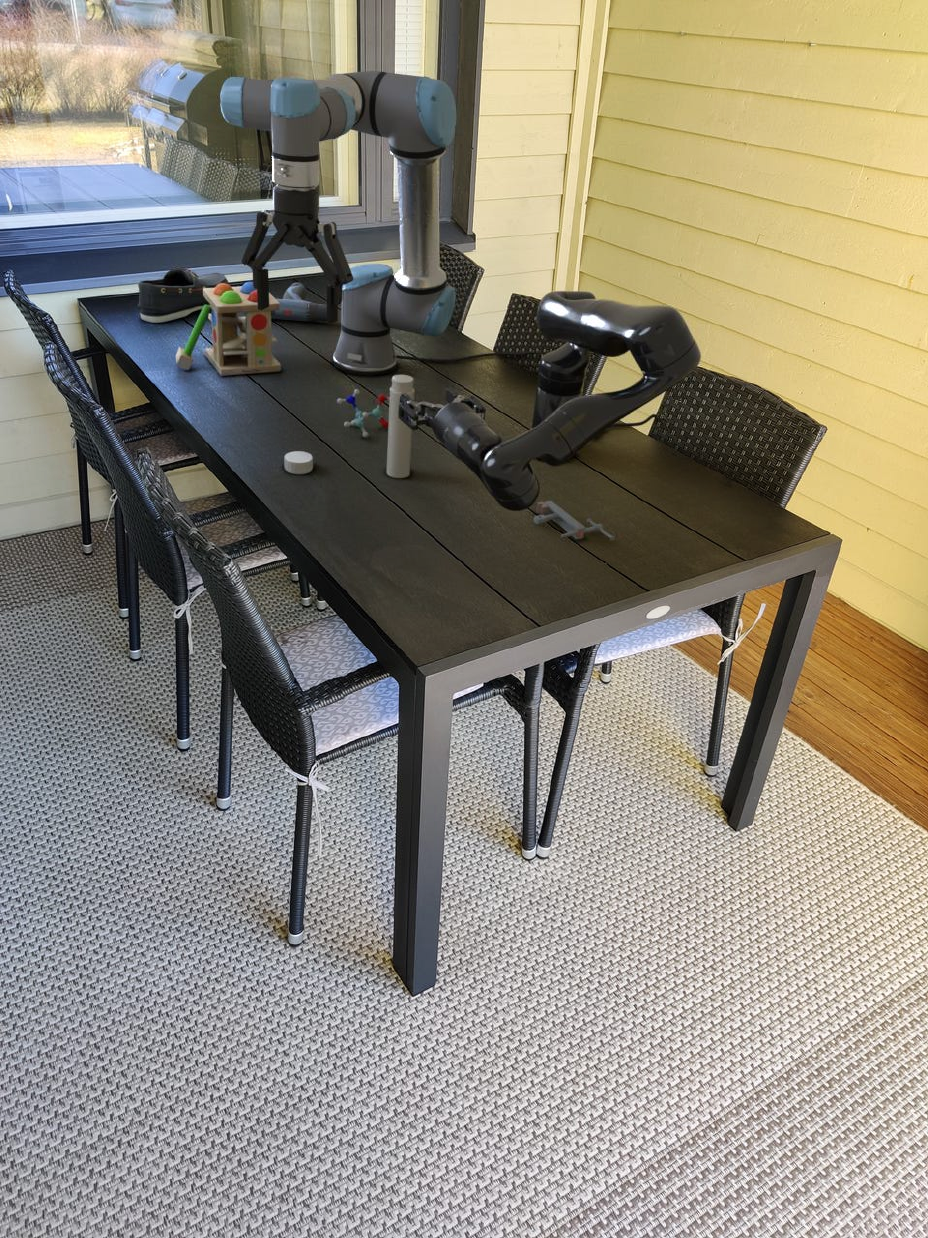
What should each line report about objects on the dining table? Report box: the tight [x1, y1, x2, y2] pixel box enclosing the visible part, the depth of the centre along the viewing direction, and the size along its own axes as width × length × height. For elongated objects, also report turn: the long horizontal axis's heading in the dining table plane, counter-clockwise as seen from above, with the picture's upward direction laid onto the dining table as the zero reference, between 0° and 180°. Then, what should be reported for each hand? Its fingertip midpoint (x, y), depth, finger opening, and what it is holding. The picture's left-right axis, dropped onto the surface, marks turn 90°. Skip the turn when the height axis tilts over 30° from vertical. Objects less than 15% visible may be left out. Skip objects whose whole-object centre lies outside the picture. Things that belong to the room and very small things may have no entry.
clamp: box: [533, 500, 616, 542], centre depth 177 cm, size 15×2×10 cm
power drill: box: [271, 282, 327, 322], centre depth 265 cm, size 5×19×20 cm
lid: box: [283, 450, 314, 475], centre depth 189 cm, size 5×5×2 cm
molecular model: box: [336, 388, 390, 438], centre depth 204 cm, size 12×10×10 cm
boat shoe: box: [137, 266, 230, 324], centre depth 260 cm, size 13×33×10 cm, turn 147°
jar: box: [385, 374, 415, 479], centre depth 186 cm, size 5×5×19 cm
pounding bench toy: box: [174, 281, 282, 377], centre depth 225 cm, size 23×14×18 cm, turn 116°
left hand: (297, 315), depth 173 cm, fingers open, 13 cm apart
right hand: (425, 395), depth 172 cm, fingers open, 8 cm apart
